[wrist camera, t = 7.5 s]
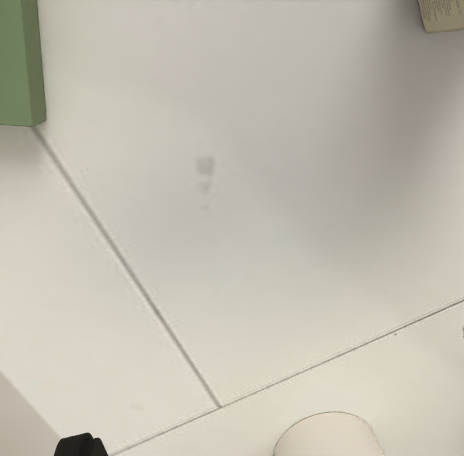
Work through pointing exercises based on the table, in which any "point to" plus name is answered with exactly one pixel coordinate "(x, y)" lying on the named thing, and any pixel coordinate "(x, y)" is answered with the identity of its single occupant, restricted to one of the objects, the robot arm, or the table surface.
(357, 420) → the mug
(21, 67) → the button box
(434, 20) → the box
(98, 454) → the robot arm
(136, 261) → the table surface
